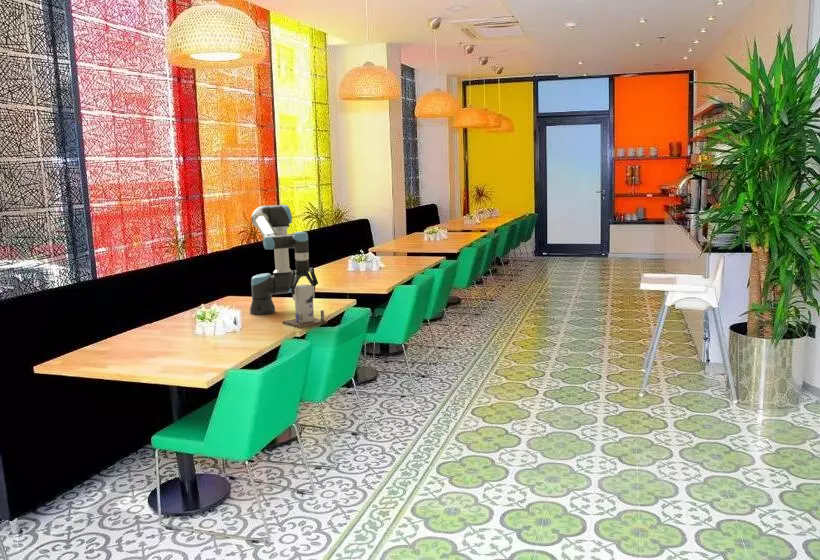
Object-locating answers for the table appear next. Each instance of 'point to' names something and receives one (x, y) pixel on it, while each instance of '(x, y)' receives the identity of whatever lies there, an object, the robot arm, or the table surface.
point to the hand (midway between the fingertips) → (303, 298)
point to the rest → (306, 324)
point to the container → (304, 302)
